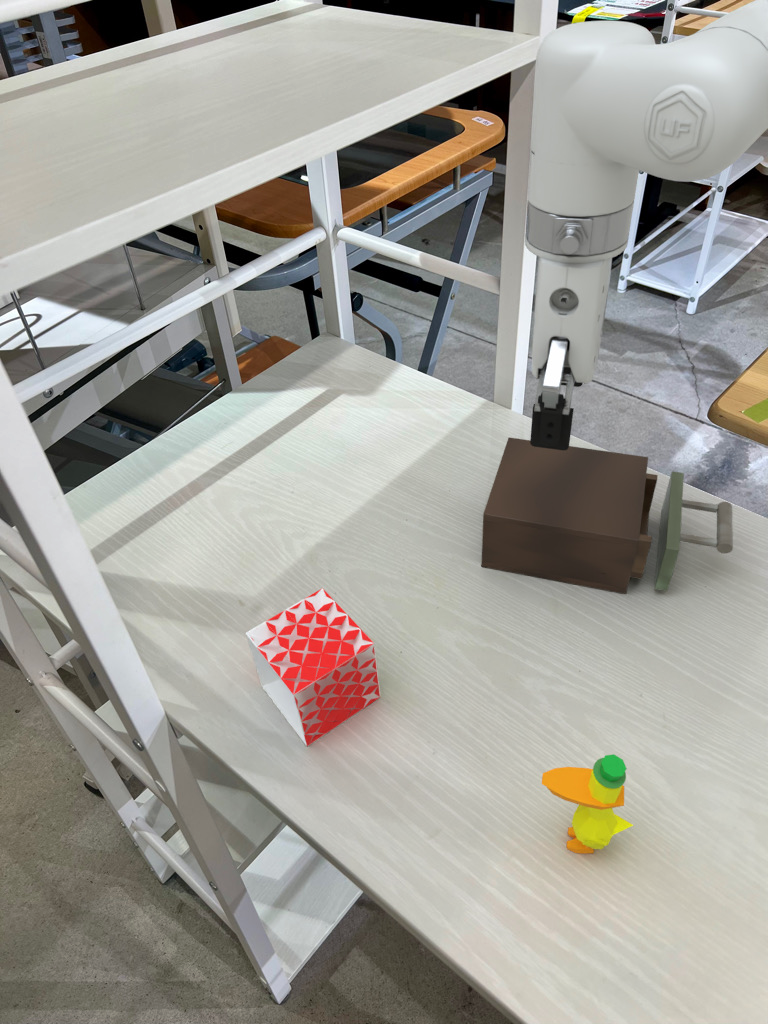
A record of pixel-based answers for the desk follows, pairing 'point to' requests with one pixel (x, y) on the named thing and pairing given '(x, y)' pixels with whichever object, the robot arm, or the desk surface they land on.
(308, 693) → the red patterned cube
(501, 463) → the cabinet
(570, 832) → the toy figure
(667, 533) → the drawer
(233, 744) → the desk surface
